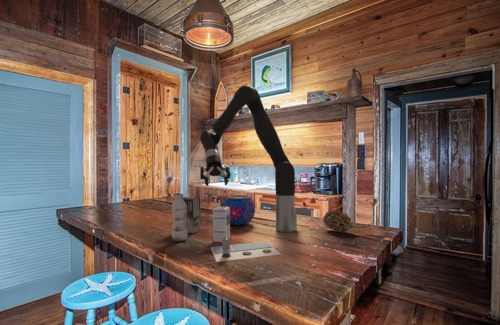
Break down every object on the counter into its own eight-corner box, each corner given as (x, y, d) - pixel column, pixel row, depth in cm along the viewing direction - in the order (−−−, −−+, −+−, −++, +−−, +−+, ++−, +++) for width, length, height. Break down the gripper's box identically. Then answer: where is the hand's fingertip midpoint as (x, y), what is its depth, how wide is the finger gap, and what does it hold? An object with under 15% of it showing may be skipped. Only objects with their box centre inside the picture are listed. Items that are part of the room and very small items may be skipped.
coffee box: (201, 230, 128) (200, 197, 128) (193, 233, 122) (193, 199, 122) (185, 228, 131) (185, 196, 131) (177, 231, 125) (177, 198, 125)
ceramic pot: (236, 219, 151) (235, 193, 151) (261, 223, 141) (261, 195, 140) (215, 225, 137) (215, 197, 137) (242, 230, 126) (241, 199, 126)
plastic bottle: (190, 239, 113) (190, 193, 113) (181, 244, 106) (181, 195, 106) (177, 238, 115) (177, 192, 115) (168, 242, 109) (167, 194, 108)
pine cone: (319, 231, 123) (319, 210, 123) (326, 227, 131) (326, 207, 131) (370, 239, 111) (369, 216, 111) (374, 234, 119) (374, 212, 118)
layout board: (266, 243, 106) (266, 240, 106) (281, 256, 92) (281, 253, 92) (210, 249, 99) (210, 246, 99) (216, 264, 85) (216, 261, 85)
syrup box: (226, 244, 105) (226, 209, 105) (213, 243, 107) (212, 208, 107) (230, 240, 111) (230, 206, 111) (217, 239, 112) (217, 206, 112)
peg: (229, 254, 92) (229, 237, 92) (230, 257, 89) (230, 239, 89) (221, 255, 91) (221, 238, 91) (223, 257, 88) (223, 240, 88)
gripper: (199, 154, 126) (202, 179, 115) (228, 154, 130) (233, 179, 119) (198, 165, 131) (200, 190, 120) (226, 164, 135) (230, 189, 124)
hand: (217, 184), depth 120 cm, fingers open, 8 cm apart
